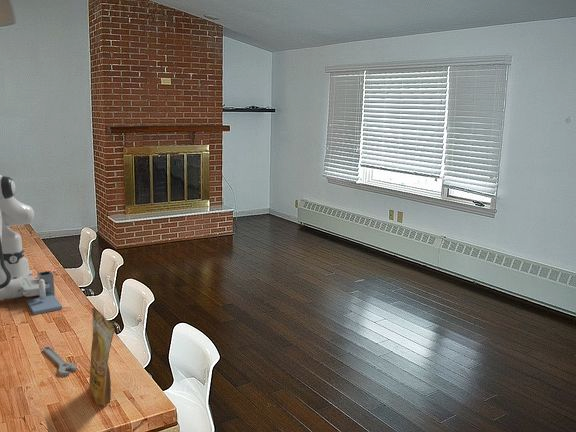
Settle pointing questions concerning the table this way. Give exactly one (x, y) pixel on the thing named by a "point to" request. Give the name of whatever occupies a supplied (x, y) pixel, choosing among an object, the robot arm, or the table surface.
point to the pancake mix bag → (100, 359)
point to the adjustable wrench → (60, 362)
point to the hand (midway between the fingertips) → (47, 282)
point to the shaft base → (43, 301)
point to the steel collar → (47, 281)
